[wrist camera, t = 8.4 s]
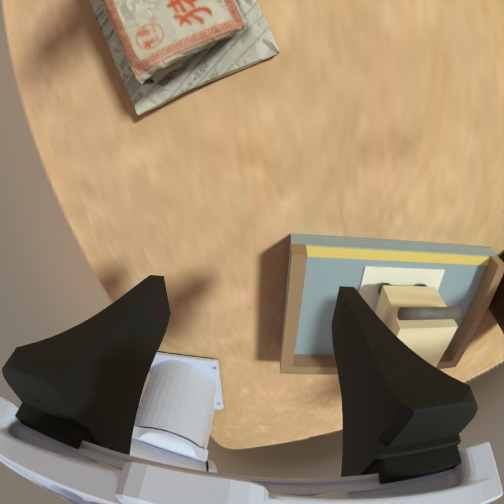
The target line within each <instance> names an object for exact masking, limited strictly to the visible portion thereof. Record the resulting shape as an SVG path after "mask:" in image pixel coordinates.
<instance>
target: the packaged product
mask: <svg viewBox="0 0 504 504" xmlns="http://www.w3.org/2000/svg"><path fill="white" fill-rule="evenodd" d="M89 2H90V5H91V7H92V9H93V11H94V13H95V17H96V19H97V22H98V24H99V26H100V29H101V31H102V33H103V36H104V39H105V41H106V43H107V45H108V47H109V50H110V53H111V56H112V58H113V60H114V63H115V65H116V68H117V70H118V72H119V74H120V77H121V79H122V81H123V83H124V85H125V88H126V90H127V93H128V94H129V96H130V98H131V101H132V103H133V105H134V108H135V110H136V113H137V114H138V115H141V114H143V113H146V112H148V111H150V110H153V109H155V108H157V107H160V106H162V105H164V104H165V103H167V102H169V101H171V100H172V99H174V98H176V97H178V96H180V95H181V94H183V93H185V92H187V91H189V90H191V89H194V88H196V87H199V86H201V85H204V84H207V83H210V82H212V81H214V80H217V79H219V78H222V77H224V76H227V75H229V74H232V73H235V72H237V71H240V70H243V69H245V68H248V67H250V66H252V65H254V64H256V63H259V62H261V61H263V60H265V59H267V58H269V57H272V56H274V55H276V54H279V53H280V52H279V50H278V47H277V45H276V43H275V40H274V38H273V36H272V34H271V31H270V29H269V27H268V25H267V22H266V20H265V18H264V16H263V14H262V12H261V10H260V7H259V5H258V3H257V1H256V0H89Z"/></svg>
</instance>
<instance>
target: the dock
mask: <svg viewBox="0 0 504 504" xmlns="http://www.w3.org/2000/svg"><path fill="white" fill-rule="evenodd" d="M503 273H504V262H503V261H502V260H501V259H500V258H499V257H498V256H497V255H496V254H495V253H494V252H493V251H492V250H491V249H490V248H489V247H478V246H466V245H453V244H440V243H427V242H414V241H400V240H385V239H370V238H354V237H338V236H320V235H302V234H291V238H290V251H289V264H288V276H287V288H286V299H285V310H284V320H283V330H282V340H281V351H280V373H284V374H338V371H337V366H336V360H335V355H334V349H333V341H332V325H331V324H332V319H333V315H334V310H335V306H336V301H337V296H338V291H339V286H345V287H355V289H356V290H357V291H358V292H359V294H360V295H361V296H362V297H363V299H364V300H365V301H366V302H367V304H368V305H369V306H370V307H371V309H372V310H373V311H374V312H375V310H376V307H377V303H378V300H379V297H380V295H379V293H378V289H379V286H380V285H381V284H383V283H389V284H391V285H392V286H418V285H419V284H425V285H427V286H428V287H436V289H437V291H438V292H439V294H440V296H441V297H442V299H443V301H444V303H445V304H446V306H447V307H459V308H460V311H461V314H460V317H459V318H458V319H454V320H455V322H456V324H457V326H458V328H457V330H456V332H455V333H454V335H453V337H452V339H451V341H450V343H449V345H448V347H447V348H446V350H445V352H444V354H443V356H442V357H441V359H440V361H439V362H438V364H437V366H436V368H437V369H442V368H451V367H456V365H457V363H458V362H459V360H460V359H461V357H462V355H463V354H464V352H465V350H466V348H467V347H468V345H469V343H470V341H471V340H472V338H473V336H474V334H475V332H476V330H477V329H478V327H479V325H480V323H481V321H482V319H483V317H484V315H485V313H486V311H487V309H488V307H489V305H490V303H491V301H492V298H493V296H494V294H495V292H496V290H497V287H498V285H499V283H500V280H501V278H502V276H503Z"/></svg>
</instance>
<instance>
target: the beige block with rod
mask: <svg viewBox="0 0 504 504" xmlns="http://www.w3.org/2000/svg"><path fill="white" fill-rule="evenodd" d="M378 293H379V295H380V297H379V300H378V303H377V307H376V310H375V314H376V315H377V316H378V317H379V318H380V319H381V321H382V322H383V323H384V324H385V325H386V326H387V327H388V328H389V329H390V330H391V331H392V332H393V333H394V334H395V335H396V336H397V337H398V338H399V339H400V340H401V341H402V342H403V343H404V344H405V345H407V346H408V347H409V348H410V349H411V350H412V351H414V352H415V353H416V354H417V355H419V356H420V357H421V358H423V359H424V360H425V361H427V362H428V363H430V364H431V365H433V366H434V367H436V366H437V364H438V362H439V361H440V359H441V357H442V356H443V354H444V352H445V350H446V348H447V347H448V345H449V343H450V341H451V339H452V337H453V335H454V333H455V332H456V330H457V328H458V326H457V324H456V322H455V320H454V319H458V318H459V317H460V314H461V311H460V308H459V307H447V306H446V304H445V303H444V301H443V299H442V297H441V296H440V294H439V292H438V291H437V289H436V287H428V286H427V285H425V284H419V285H418V286H392V285H391V284H389V283H383V284H381V285H380V286H379V289H378Z"/></svg>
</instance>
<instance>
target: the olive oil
mask: <svg viewBox="0 0 504 504" xmlns="http://www.w3.org/2000/svg"><path fill="white" fill-rule="evenodd" d="M501 260H502V261H503V262H504V255H503V256H502V257H501ZM489 309H490V311H491V313H492V314H493V316H494V318H495V319H496V321H497V323H498V324H499V326H500V328H501V329H502V331H503V333H504V273H503V276H502V278H501V280H500V283H499V285H498V287H497V290H496V292H495V294H494V296H493V298H492V301H491V303H490V305H489Z"/></svg>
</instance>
